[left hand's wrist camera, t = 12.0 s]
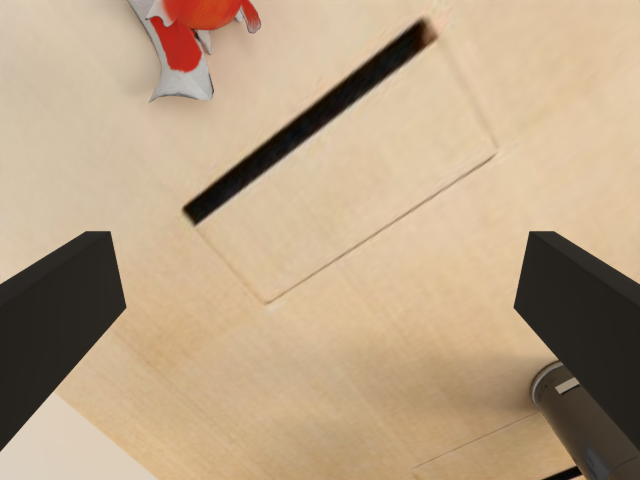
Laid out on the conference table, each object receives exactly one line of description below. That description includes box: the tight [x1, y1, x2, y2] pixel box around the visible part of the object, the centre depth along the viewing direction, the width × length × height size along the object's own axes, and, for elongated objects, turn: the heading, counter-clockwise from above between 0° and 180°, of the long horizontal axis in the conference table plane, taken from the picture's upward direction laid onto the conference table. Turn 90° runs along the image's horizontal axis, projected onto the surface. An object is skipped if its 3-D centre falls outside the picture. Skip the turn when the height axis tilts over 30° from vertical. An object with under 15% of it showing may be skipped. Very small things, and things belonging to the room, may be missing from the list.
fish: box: [128, 0, 261, 104], centre depth 34 cm, size 11×16×10 cm
